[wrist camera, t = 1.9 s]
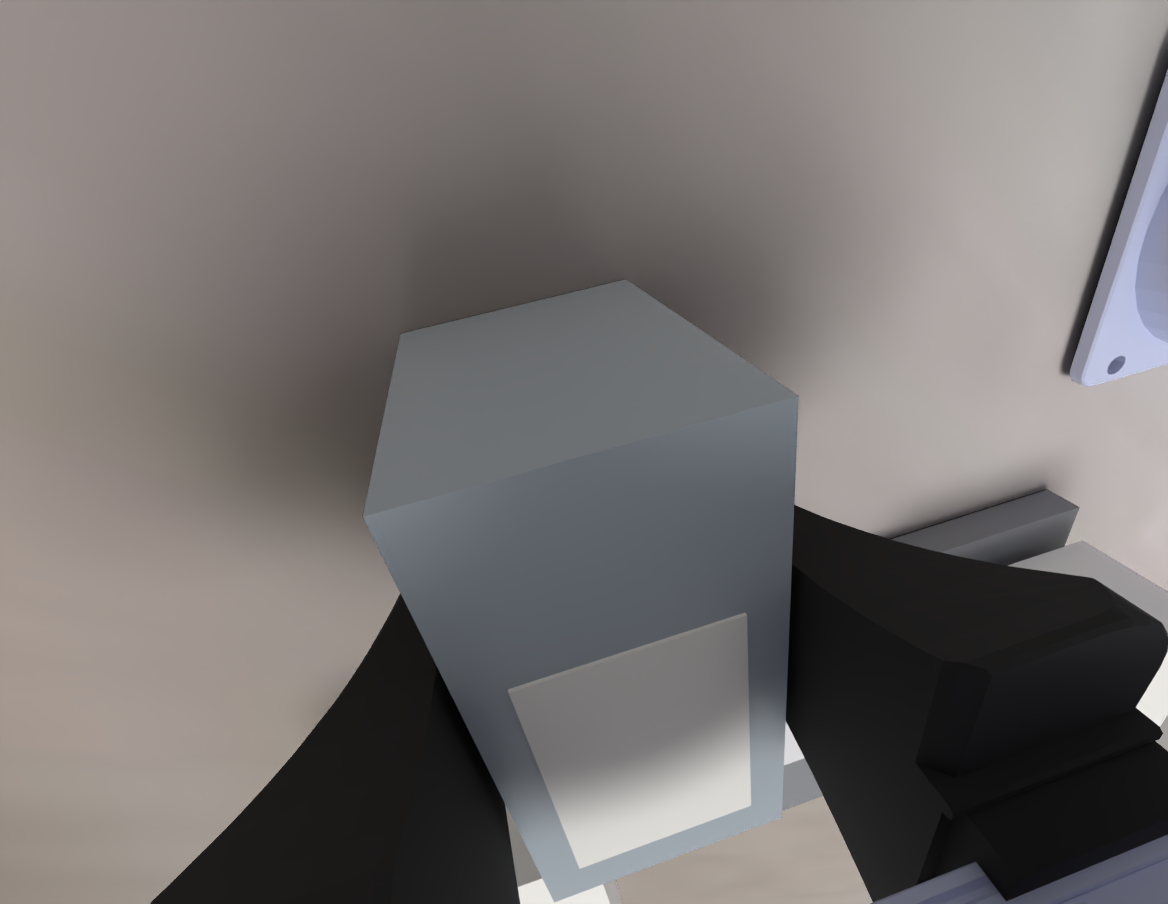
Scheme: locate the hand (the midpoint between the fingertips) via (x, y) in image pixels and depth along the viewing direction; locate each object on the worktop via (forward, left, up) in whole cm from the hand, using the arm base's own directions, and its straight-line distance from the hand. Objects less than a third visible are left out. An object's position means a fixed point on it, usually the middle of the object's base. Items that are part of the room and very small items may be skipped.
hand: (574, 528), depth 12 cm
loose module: (0, 0, -1) cm, 1 cm away
